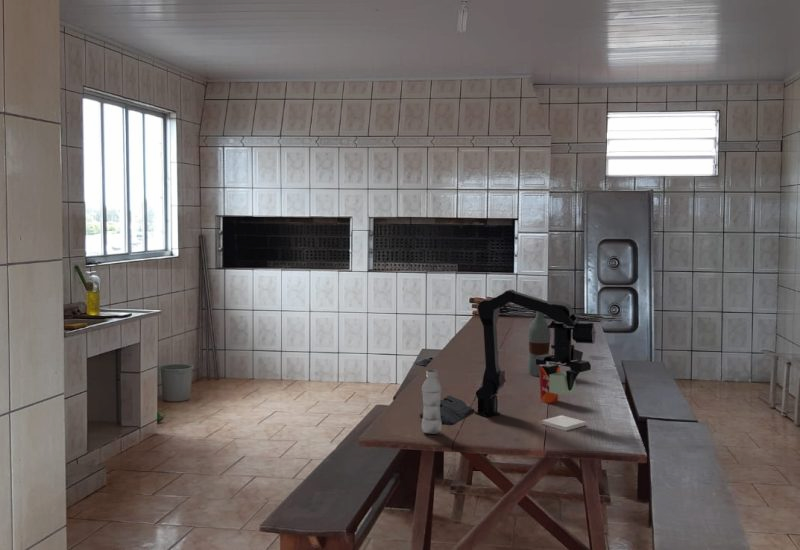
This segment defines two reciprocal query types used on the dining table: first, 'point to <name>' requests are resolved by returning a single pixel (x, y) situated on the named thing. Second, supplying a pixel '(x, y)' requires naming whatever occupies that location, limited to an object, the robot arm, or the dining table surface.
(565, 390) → the cube
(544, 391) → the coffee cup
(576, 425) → the tile
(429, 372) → the plastic bottle
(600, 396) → the dining table surface
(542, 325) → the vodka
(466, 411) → the dark slate chunk
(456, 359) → the dining table surface
